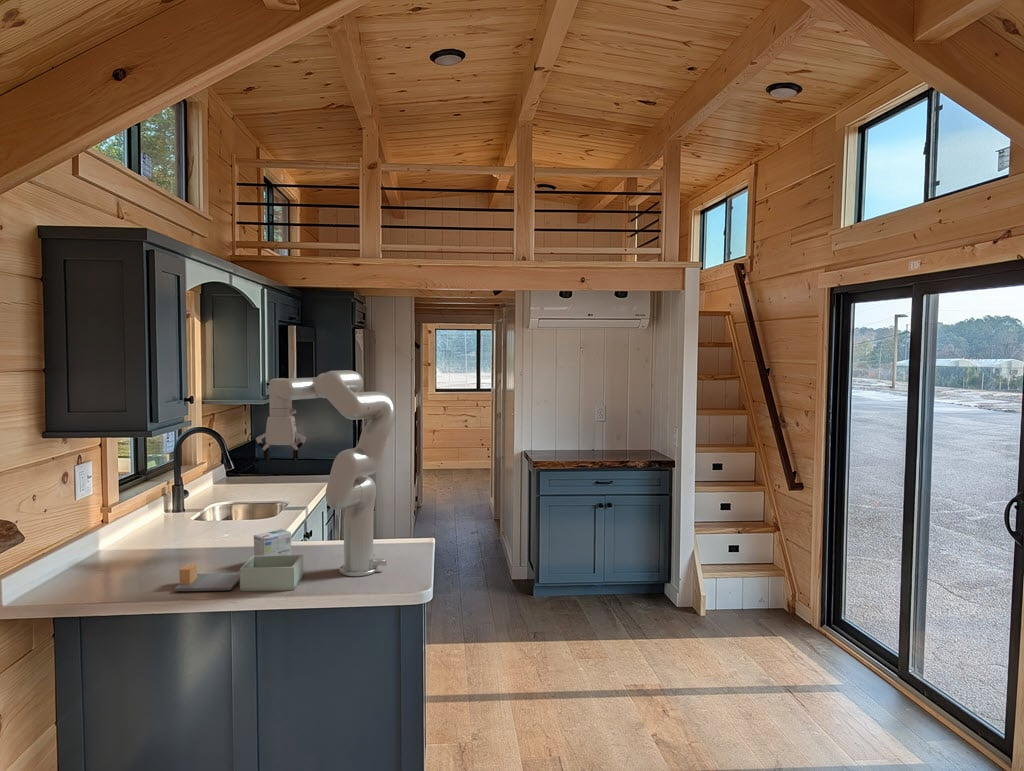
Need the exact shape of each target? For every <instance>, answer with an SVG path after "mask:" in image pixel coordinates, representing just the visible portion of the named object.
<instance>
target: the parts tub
mask: <svg viewBox="0 0 1024 771" xmlns="http://www.w3.org/2000/svg"><path fill="white" fill-rule="evenodd" d="M239 573H240V581H239V592H266V591H267V592H269V591H271V592H272V591H273V592H275V591H277V592H279V591H295V590H296V589H297V587H298V585H299V584H300V582H301V581H302V579H303V578H304V554H291V555H267V556H254V555H252V556H250V557H249V559H247V561H245V563H243V565H241V567H240V568H239Z"/></svg>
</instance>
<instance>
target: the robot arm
mask: <svg viewBox="0 0 1024 771" xmlns="http://www.w3.org/2000/svg"><path fill="white" fill-rule="evenodd" d="M268 383H269V384H268V386H269V388H268V390H269V391H268V392H269V416H268V417H267V420H266V428H265V432H264V433H263V434H261V435H259V436H257V437H256V438H255V440H256V442H257V444H258V446H259V447H260V448H261V449H262V450H263V459H264V460H265V462H269V461H270V456H271V455H270V452H271V451H270V449H269V448H270V447H271V446H291V447H292V448H293V450H292V452H293V453H292V461H293V462H297V461H298V459H299V456H300V454H299V453H300V452H299V449H300V448H301V447H302V446H304V444H305V442H306V440H307V437H306V436H305V435H303V434H301V433H298V432H297V422H296V418H295V416H293V415H294V414H297V410H296V409H293V403H292V402H293V401H296V400H297V401H299V400H311V399H318V398H321V399H327V400H328V402H330V404H331V405H333V407H334V408H335V409H336V410H337V411H338V412H339V413H340V415H341V416H342V417H345V419H348V420H351V421H353V420H365V419H369V421H368V422H367V424H365V426H364V428H363V430H362V431H361V433H360V436H359V440H358V443H357V445H356V446H355V447H354V448H347V449H345V450H342V451H340V452H339V453H338V454H337V455H336V456H335V458H334V460H333V462H332V466H331V468H330V469H331V470H330V473H329V477H328V479H327V480H328V481H327V484H326V488H325V495H324V496H325V501H326V503H327V505H328V507H330V508H331V509H332V510H335V511H341V510H345V511H344V516H343V564H342V565H340V567H339V568H338V569H339V570H338V571H339V573H340V574H341V575H343V576H347V577H362V576H363V577H364V576H369V575H372V574H374V573H375V574H376V573H377V572H378V570H379V566H381V567H386V566H387V565H388V559H385V558H377V557H376V554H375V553H374V510H375V502H376V497H377V484H376V482H375V481H374V479H373V478H371V477H370V476H371V475H373V474H375V473H377V471H378V470H379V467H380V465H381V462H382V459H383V456H384V452H385V449H386V445H387V441H388V438H389V435H390V433H391V430H392V428H393V425H394V423H395V418H396V417H395V416H396V411H395V410H396V409H395V405H394V403H393V400H392V399H391V397H390V396H389V395H387V394H386V393H384V392H381V391H362V388H363V386H364V380H363V377H362V375H360V373H359V372H357V371H354V370H349V369H348V370H347V369H345V370H344V369H343V370H329V371H327V372H322V373H320V374H318V375H317V376H316V377H315V376H314V377H296V378H295V377H294V378H287V377H286V378H285V377H280V378H279V377H275V378H271V379H270V380H269V382H268ZM361 391H362V392H361ZM264 438H265V443H264V442H263V441H262V440H263V439H264ZM298 439H299V440H300V441H299V443H297V440H298Z"/></svg>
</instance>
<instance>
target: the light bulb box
mask: <svg viewBox="0 0 1024 771" xmlns="http://www.w3.org/2000/svg"><path fill="white" fill-rule="evenodd" d="M253 552H254V553H253V554H254V555H253V556H267V555H292V532H291V531H289V530H285V529H282V528H280V529H276V530H275V529H274V530H270V531H268V532H267V531H266V532H262V533H258V534H254V535H253Z"/></svg>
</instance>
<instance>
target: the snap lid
mask: <svg viewBox="0 0 1024 771" xmlns="http://www.w3.org/2000/svg"><path fill="white" fill-rule="evenodd" d="M178 571H179V572H178V574H179V584H177V585H176V586H175V587H174V589H173V590H174V591H173V592H216V591H217V592H218V591H219V592H221V591H222V592H223V591H224V592H225V591H231V590H233V588H234V587H235V586H236V585H237V584H238V583H240V572H221V573H220V572H219V573H218V572H217V573H214V572H212V573H210V572H209V573H198V564H197V563H195V562H193V563H186V564H185V565H183V566H182V567H181V568H180V569H178Z"/></svg>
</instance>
